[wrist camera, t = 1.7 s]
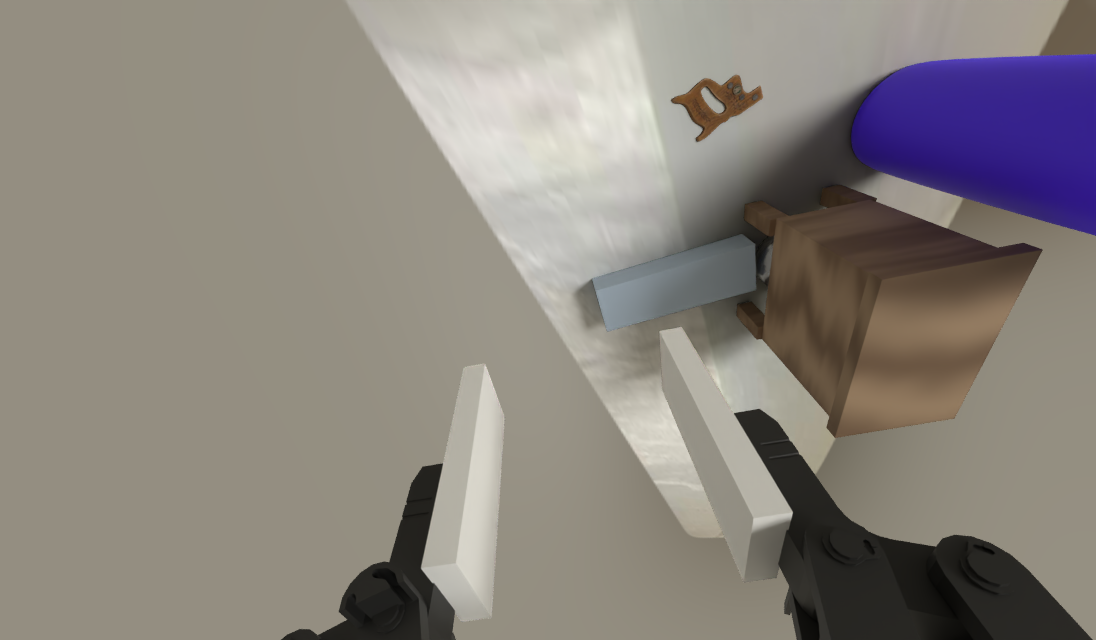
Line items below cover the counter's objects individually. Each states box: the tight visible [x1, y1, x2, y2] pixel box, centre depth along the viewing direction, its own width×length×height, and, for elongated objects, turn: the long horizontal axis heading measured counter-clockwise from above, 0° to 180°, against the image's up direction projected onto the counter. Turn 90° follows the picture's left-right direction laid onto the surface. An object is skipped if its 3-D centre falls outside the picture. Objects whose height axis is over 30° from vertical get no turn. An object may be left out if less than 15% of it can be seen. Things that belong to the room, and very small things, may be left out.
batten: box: [592, 234, 756, 332], centre depth 39 cm, size 5×15×3 cm, turn 107°
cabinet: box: [737, 185, 1042, 438], centre depth 32 cm, size 14×8×16 cm, turn 11°
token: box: [755, 236, 774, 286], centre depth 39 cm, size 6×6×2 cm
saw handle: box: [671, 75, 763, 142], centre depth 29 cm, size 24×5×1 cm, turn 125°
